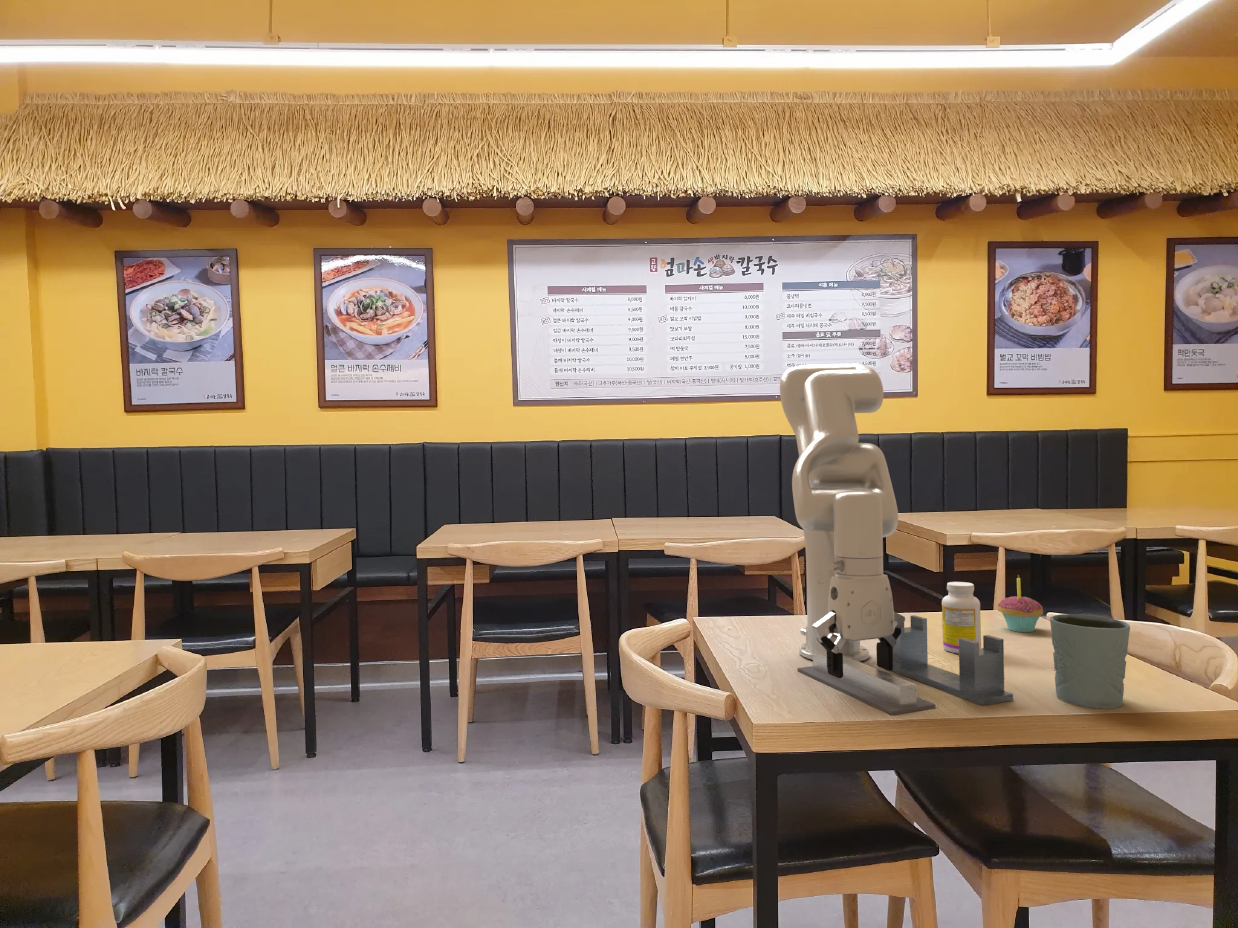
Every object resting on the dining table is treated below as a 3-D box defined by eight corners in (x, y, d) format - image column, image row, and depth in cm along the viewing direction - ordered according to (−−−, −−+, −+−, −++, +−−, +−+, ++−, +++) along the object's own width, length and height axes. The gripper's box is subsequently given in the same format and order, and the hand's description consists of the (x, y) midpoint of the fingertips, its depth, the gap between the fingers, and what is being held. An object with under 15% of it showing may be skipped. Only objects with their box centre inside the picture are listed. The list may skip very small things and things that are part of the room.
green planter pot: (1036, 692, 114) (1034, 616, 114) (1086, 685, 117) (1085, 611, 117) (1094, 713, 104) (1093, 630, 104) (1148, 706, 107) (1146, 624, 107)
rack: (882, 667, 129) (881, 616, 129) (909, 663, 131) (908, 613, 131) (982, 705, 109) (981, 645, 109) (1013, 700, 111) (1012, 641, 111)
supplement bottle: (956, 644, 144) (955, 579, 144) (988, 651, 138) (987, 584, 138) (935, 649, 140) (934, 583, 140) (967, 657, 135) (966, 587, 135)
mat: (797, 670, 128) (797, 667, 128) (835, 665, 131) (835, 662, 131) (891, 714, 105) (891, 711, 105) (935, 707, 108) (935, 704, 108)
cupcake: (1042, 636, 149) (1041, 577, 149) (995, 631, 154) (994, 574, 154) (1044, 627, 156) (1043, 571, 156) (1000, 623, 161) (999, 569, 161)
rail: (813, 667, 128) (812, 650, 128) (827, 665, 129) (827, 649, 129) (900, 707, 107) (899, 686, 107) (916, 704, 108) (916, 684, 108)
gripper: (827, 573, 112) (829, 685, 112) (918, 566, 117) (919, 672, 118) (799, 567, 119) (801, 672, 119) (886, 560, 124) (888, 660, 125)
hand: (860, 672), depth 118 cm, fingers open, 9 cm apart
